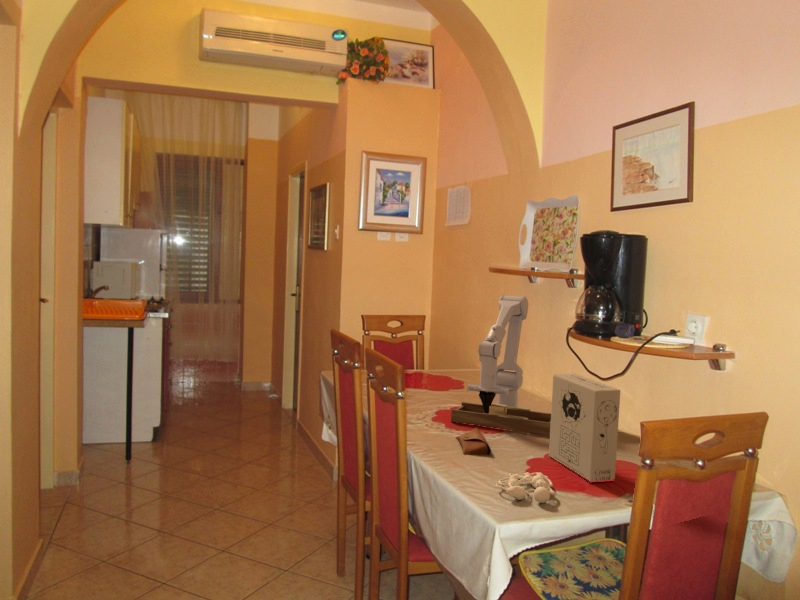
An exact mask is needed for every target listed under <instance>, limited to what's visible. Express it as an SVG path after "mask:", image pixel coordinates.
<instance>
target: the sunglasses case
mask: <svg viewBox="0 0 800 600" xmlns="http://www.w3.org/2000/svg"><path fill="white" fill-rule="evenodd" d="M455 439H456V440H457V441H458V443H459V445H460V447H461V450H462V455H464V456H490V455H491V454H492V449H491V447H490V445H489V443H488V441H487V440H486V438H485V437H484V434H483V433H482V432H481V430H480V429H479V428H478V426H475V428H473V429H471V430H470V431H468V432H465V433H463V434H461V435H457V436H456V437H455Z"/></svg>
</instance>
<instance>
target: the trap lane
mask: <svg viewBox="0 0 800 600" xmlns="http://www.w3.org/2000/svg"><path fill="white" fill-rule="evenodd" d="M450 415H451V417H450V423H452V422H457V423H456V424H459V423H466V424H474V425H480V426H486V427H493V428H500V429H506V430H505V431H507V430H512V431H511V432H513V431H517V432H516V433H520V432H522V434H527V433H529V434H528V435H534V436H543V437H549V438H550V427H551V413H549V412H541V411H535V410H534V411H533V410H531V408H526V407H525V408H523V407H518V406H517V407H510V406H508V407H507V414H506V415H504V414H499V416H498V415H491V414H489V413H488V414H486V413H484V408H483V404H482V403H481V404H480V403H472V402H466V401H465V402H464V401H462V402H461V405H460V406H458V407H457V408H456V409H451V414H450ZM486 427H485V428H486ZM493 428H492V429H493ZM500 429H499V430H500Z"/></svg>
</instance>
